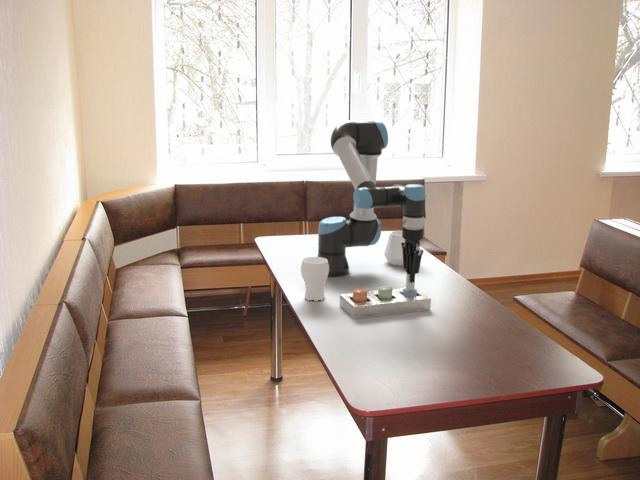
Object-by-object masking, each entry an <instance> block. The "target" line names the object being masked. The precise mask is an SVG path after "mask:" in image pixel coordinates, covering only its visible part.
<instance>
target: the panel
mask: <svg viewBox="0 0 640 480" xmlns="http://www.w3.org/2000/svg"><path fill="white" fill-rule="evenodd" d="M405 288H406V287H399V288H393V292H392V299H387V300H380V299H379V298H378V289H377V290H370V291H369V290H367V302H359V303H354V302H353V292H352V293H351V292H350V293H340V294H339V307H340V308H341V309H342V310H344V311H345V313H346V314H348V315H349V316H350V317H351V318H352V319H353V320H357V319H358V320H359V319H365V318H366V319H367V318H368V319H369V318H375V317H382V316H392V315H393V316H394V315H400V314H409V313H417V312H419V313H420V312H425V311H431V305H432V304H431V303H432V298H431V297H429V295H427V294H425V293H423V292H422V291H420V290H419V289H418V288H416V287H414V289H416V290H417V296H414V297H405V296H403V289H405Z"/></svg>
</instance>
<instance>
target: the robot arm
mask: <svg viewBox="0 0 640 480" xmlns="http://www.w3.org/2000/svg"><path fill="white" fill-rule="evenodd" d="M388 144H389V135H388V129H387V127H386V125H385V124H384V122H383V121H381V120H376V119H375V120H374V119H364V120H363V119H362V120H360V119H359V120H351V119H350V120H349V119H348V120H345V121H342V122H340V123H339V124H337V125H336V126H335V127H334V129H333V130H332V132H331V136H330V146H331V149H332V151H333V153H334V155H336V156H338V157H339V160H340V162H341V163H342V166H343V168H344V170H345V172H346V173H347V176H348V178H349V180H350V182H351V184H352V186H353V188H354V191H353V195H352V200H353V211H351V212H350V214H349V219H346V217H344V216H330V217H326V218H324V219H322V220H320V221H319V222H318V223H319V224H318V230H317V231H318V238H317V239H318V243H317V245H318V246H317V247H318V248H317V249H318V250H317V252H318V253H317V256H316V257H322V258H325V259H327V260H328V264H329V274H328V277H334V278H335V277H343V276H346V275H348V274H349V273H350V266H349V263H348V259H347V256H346V255H347V254H346V248H356V247H368V246H375V245H376V244H377V243H378V242H379V240H380V238H381V234H382V227H381V225H382V223H381V221H380V219H379V218H377V214H375V212H374V209H379V208H396V207H397V208H399V207H400V208H402V209H403V211H402V212H403V213H402V215H403V216H402V219H401V221H402V227H403V228H402V230H401V231H402V237H403V238H404V239H405V242H403V243H401V245H402V251H403V265H402V266H403V267H402V268H403V269H404V270H405V272H406V280H405V281H406V283H405V288H406V290H407V291H410V290H414V288H415V287H416V286H415V284H416V283H415V280H416V274H419V272H420V267H421V264H422V263H421V262H422V257H423V255H424V250H423V249H421V248H420V246H421V244H420V241H421V240H423V238H424V227H425V210H426V209H425V208H426V207H425V206H426V198H427V196H426V187H425V186H424V185H423V184H419V183H418V184H417V183H409V184H406V185H403V184H393V185H391V186H377V183H376V182H377V169H378V158H379V157H380V156H381V155H383V154H382V151H383V150H384V149H386V148H387V146H388Z"/></svg>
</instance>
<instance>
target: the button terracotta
mask: <svg viewBox="0 0 640 480" xmlns="http://www.w3.org/2000/svg"><path fill="white" fill-rule="evenodd" d="M367 292H368V290H366V289H363V288H355V289H353V290H352V293H353V302H354V303H359V302H367Z"/></svg>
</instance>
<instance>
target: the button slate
mask: <svg viewBox="0 0 640 480" xmlns="http://www.w3.org/2000/svg"><path fill="white" fill-rule="evenodd" d="M404 288H405V289H403V296H405V297H414V296H417V290H418V289H417V288H416V289H417V290H416V289H414V290H410V291H407V290H406V287H404Z"/></svg>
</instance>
